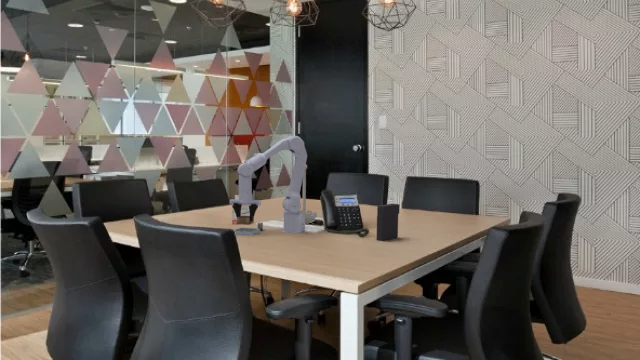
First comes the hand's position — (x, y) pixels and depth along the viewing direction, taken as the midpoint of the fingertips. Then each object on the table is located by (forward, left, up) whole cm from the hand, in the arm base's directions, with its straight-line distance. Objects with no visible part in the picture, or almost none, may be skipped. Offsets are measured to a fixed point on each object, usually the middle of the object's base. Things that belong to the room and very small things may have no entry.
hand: (245, 220), depth 251 cm
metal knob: (-3, -9, -6) cm, 12 cm away
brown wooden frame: (0, 0, -1) cm, 1 cm away
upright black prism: (-62, -11, -6) cm, 63 cm away
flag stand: (-13, -42, -6) cm, 44 cm away
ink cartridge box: (+13, -23, -6) cm, 27 cm away
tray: (0, -1, -6) cm, 6 cm away
